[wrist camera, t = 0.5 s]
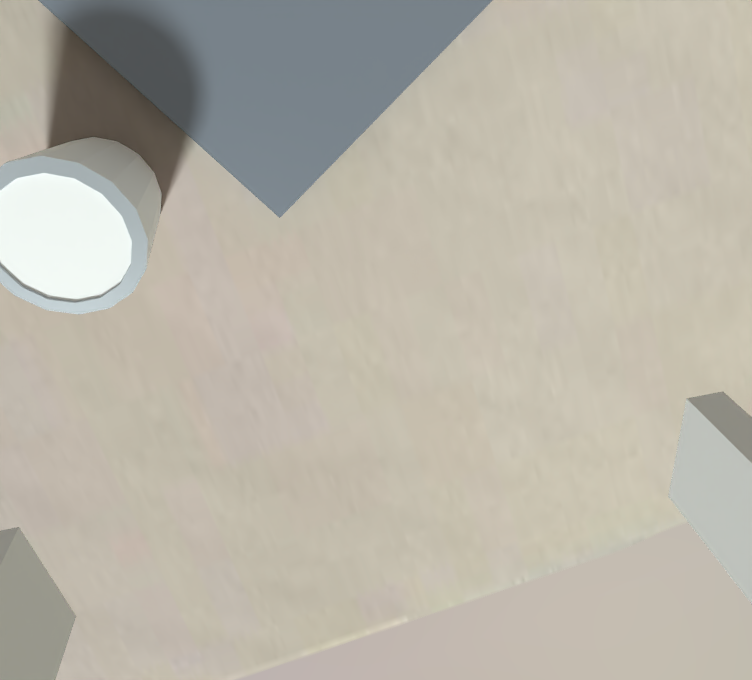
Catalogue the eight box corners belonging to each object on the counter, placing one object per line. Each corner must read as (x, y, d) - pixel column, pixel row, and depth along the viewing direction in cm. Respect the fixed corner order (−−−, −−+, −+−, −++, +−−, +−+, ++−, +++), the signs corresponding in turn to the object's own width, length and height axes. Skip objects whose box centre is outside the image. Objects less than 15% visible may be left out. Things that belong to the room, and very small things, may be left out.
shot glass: (0, 155, 29) (-75, 197, 23) (127, 101, 28) (85, 128, 22) (84, 274, 32) (38, 337, 26) (198, 227, 32) (179, 280, 26)
